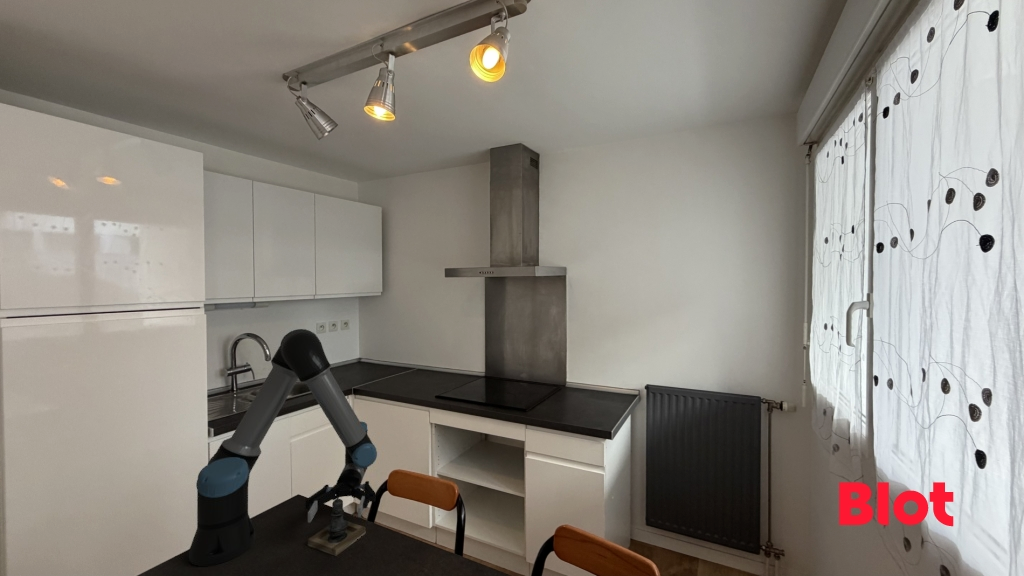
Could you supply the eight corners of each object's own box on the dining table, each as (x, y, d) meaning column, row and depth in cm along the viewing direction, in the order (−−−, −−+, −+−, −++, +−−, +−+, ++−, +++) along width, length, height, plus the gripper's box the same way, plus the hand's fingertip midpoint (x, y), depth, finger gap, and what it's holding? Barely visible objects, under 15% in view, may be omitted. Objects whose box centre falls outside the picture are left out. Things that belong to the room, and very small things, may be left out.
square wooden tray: (307, 545, 112) (307, 539, 112) (338, 524, 122) (338, 518, 122) (335, 556, 107) (335, 549, 107) (365, 533, 118) (365, 527, 118)
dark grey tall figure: (339, 545, 111) (340, 503, 111) (321, 542, 113) (322, 500, 113) (352, 532, 117) (352, 492, 117) (335, 530, 118) (335, 490, 118)
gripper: (388, 486, 135) (379, 523, 114) (311, 494, 130) (287, 533, 109) (388, 465, 135) (379, 497, 114) (311, 471, 130) (287, 506, 109)
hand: (334, 515), depth 111 cm, fingers open, 13 cm apart
